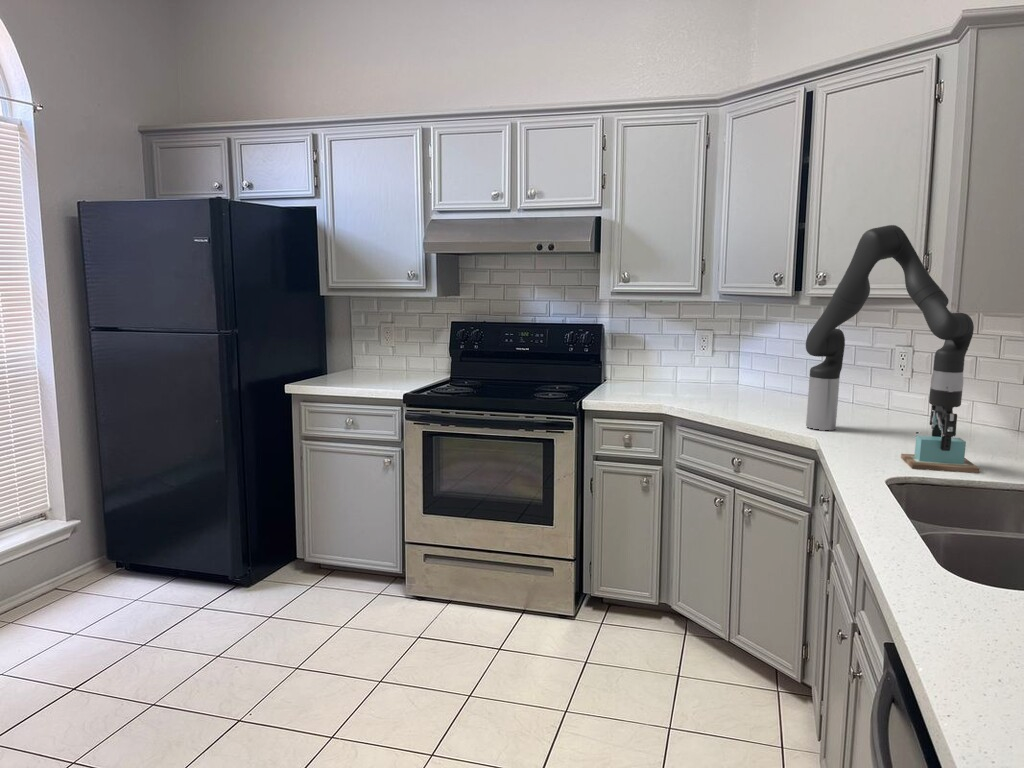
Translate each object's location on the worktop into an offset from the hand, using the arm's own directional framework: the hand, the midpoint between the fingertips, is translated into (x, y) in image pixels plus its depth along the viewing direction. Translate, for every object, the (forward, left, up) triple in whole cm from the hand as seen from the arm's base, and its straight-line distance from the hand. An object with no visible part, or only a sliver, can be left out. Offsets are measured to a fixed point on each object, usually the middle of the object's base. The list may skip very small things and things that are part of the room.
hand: (940, 446), depth 205 cm
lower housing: (0, 0, -4) cm, 4 cm away
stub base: (0, 0, -5) cm, 5 cm away
